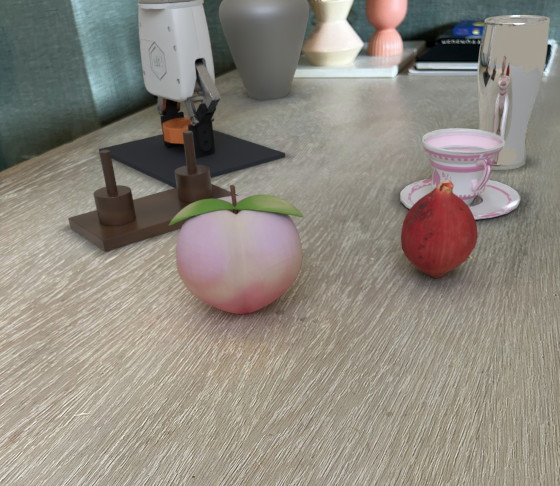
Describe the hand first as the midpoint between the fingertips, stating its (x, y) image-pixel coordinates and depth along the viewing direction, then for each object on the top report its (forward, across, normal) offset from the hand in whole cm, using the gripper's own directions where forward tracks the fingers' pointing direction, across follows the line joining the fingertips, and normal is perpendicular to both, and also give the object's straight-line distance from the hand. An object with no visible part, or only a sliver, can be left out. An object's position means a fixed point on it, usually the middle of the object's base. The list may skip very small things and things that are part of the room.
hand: (189, 149), depth 87 cm
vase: (+1, -20, +28) cm, 34 cm away
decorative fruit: (+1, +39, -19) cm, 43 cm away
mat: (+1, 0, 0) cm, 1 cm away
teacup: (+1, +35, +11) cm, 37 cm away
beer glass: (+1, +30, +24) cm, 38 cm away
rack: (+1, +17, -14) cm, 22 cm away
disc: (-2, 0, 0) cm, 2 cm away
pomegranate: (+1, +45, -4) cm, 45 cm away
